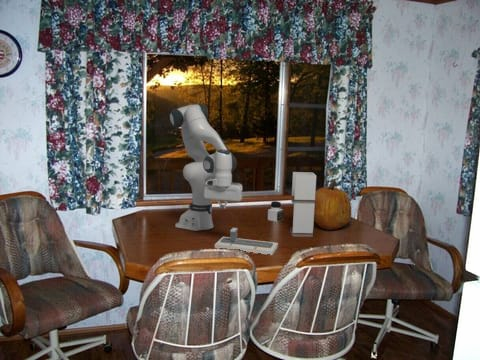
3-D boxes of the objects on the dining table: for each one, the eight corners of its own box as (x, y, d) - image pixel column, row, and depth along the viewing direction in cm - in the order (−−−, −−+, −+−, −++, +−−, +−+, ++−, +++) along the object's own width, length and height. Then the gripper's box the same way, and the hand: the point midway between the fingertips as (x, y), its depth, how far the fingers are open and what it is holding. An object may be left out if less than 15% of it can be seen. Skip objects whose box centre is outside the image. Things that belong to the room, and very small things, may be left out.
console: (214, 248, 229) (214, 242, 229) (223, 240, 242) (223, 234, 242) (272, 255, 221) (272, 249, 221) (277, 246, 234) (278, 241, 234)
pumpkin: (322, 219, 291) (325, 174, 286) (355, 226, 277) (359, 179, 272) (301, 227, 271) (304, 178, 266) (335, 235, 257) (339, 184, 252)
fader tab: (228, 242, 231) (228, 230, 230) (231, 240, 236) (231, 227, 235) (236, 243, 230) (236, 230, 229) (238, 240, 235) (239, 228, 234)
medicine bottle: (276, 222, 282) (277, 203, 280) (267, 220, 286) (268, 201, 284) (282, 220, 288) (283, 201, 285) (273, 218, 292) (274, 200, 290)
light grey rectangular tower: (309, 231, 264) (312, 172, 258) (312, 236, 254) (316, 175, 248) (289, 230, 264) (292, 172, 258) (292, 236, 253) (295, 175, 247)
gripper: (244, 182, 230) (243, 208, 232) (206, 179, 235) (206, 205, 238) (241, 184, 224) (240, 211, 226) (202, 181, 229) (202, 207, 232)
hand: (222, 208), depth 232 cm, fingers closed
